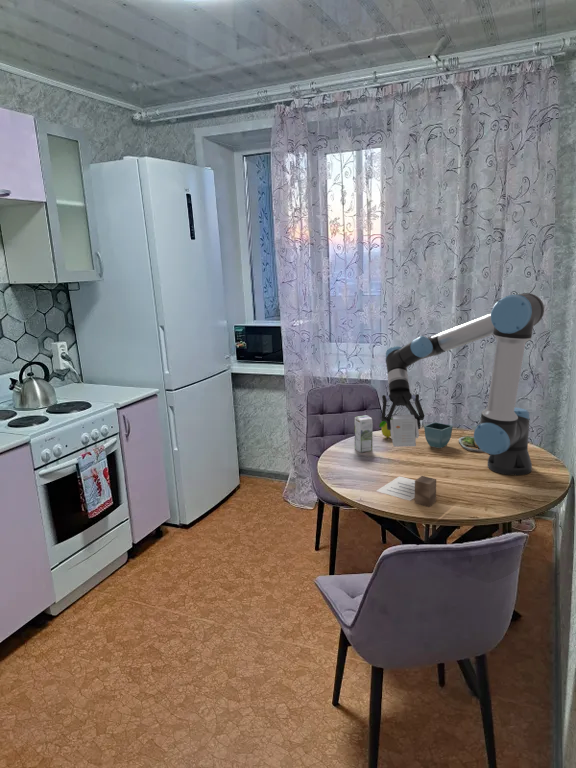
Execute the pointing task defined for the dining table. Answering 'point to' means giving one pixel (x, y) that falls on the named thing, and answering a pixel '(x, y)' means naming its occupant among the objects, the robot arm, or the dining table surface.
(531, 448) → the dining table surface
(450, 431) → the flower pot
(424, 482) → the walnut block
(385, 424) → the lemon
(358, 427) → the syrup box
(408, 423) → the small box
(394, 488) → the letter
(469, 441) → the avocado toast plate
